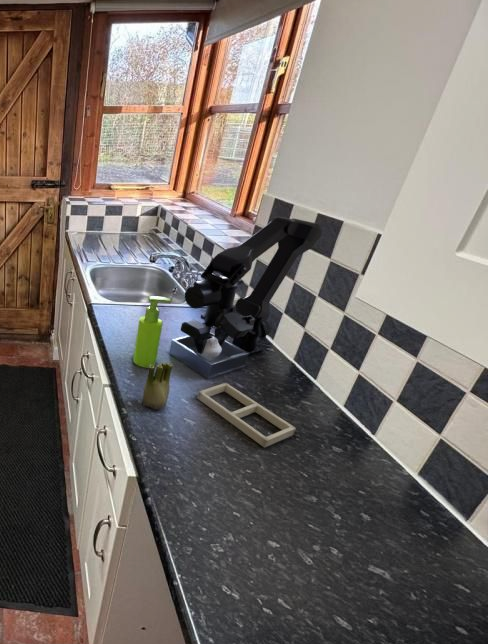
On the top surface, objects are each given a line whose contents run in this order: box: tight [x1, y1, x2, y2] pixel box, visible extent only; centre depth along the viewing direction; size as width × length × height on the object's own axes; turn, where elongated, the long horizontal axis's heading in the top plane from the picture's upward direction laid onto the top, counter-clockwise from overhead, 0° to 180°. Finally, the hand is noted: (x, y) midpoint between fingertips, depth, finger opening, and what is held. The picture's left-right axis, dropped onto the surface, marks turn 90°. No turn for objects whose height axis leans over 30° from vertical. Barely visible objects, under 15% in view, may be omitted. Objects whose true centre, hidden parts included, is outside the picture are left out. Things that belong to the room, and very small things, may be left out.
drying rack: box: [196, 382, 297, 448], centre depth 93 cm, size 9×17×2 cm, turn 22°
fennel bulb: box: [142, 361, 174, 411], centre depth 95 cm, size 6×5×12 cm
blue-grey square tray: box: [168, 331, 249, 380], centre depth 113 cm, size 14×14×5 cm
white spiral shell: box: [199, 336, 222, 361], centre depth 112 cm, size 6×6×7 cm
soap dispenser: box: [132, 295, 172, 369], centre depth 110 cm, size 6×7×20 cm
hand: (208, 350), depth 113 cm, fingers closed on white spiral shell, 6 cm apart
